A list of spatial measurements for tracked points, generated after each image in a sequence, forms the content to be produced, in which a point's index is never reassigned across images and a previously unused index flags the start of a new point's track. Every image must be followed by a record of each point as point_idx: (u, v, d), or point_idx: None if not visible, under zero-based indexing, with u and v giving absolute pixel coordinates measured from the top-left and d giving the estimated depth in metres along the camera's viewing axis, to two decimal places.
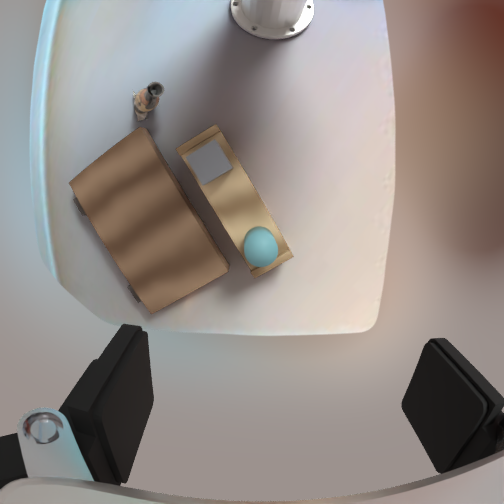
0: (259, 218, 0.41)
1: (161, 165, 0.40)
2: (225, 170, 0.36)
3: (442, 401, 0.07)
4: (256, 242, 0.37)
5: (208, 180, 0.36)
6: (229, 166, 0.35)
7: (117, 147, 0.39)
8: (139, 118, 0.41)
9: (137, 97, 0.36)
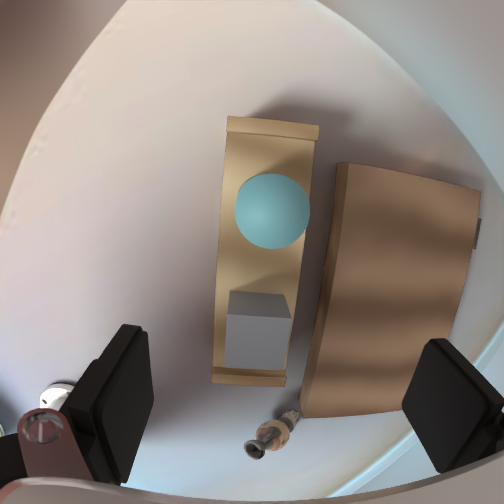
0: None
1: (317, 367, 0.26)
2: (240, 317, 0.19)
3: (442, 401, 0.07)
4: (270, 233, 0.17)
5: (277, 319, 0.19)
6: (229, 318, 0.19)
7: (344, 412, 0.28)
8: (296, 415, 0.31)
9: (280, 448, 0.27)
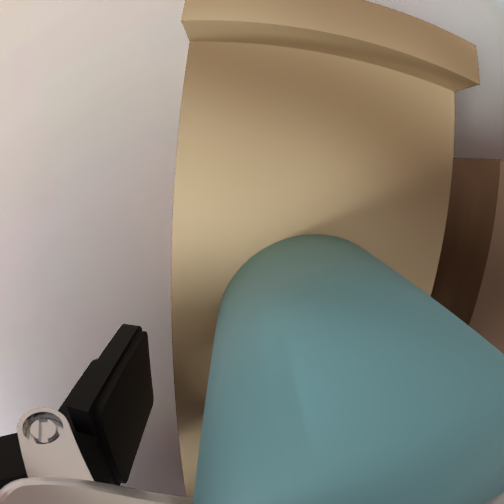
0: None
1: None
2: None
3: None
4: None
5: None
6: None
7: None
8: None
9: None
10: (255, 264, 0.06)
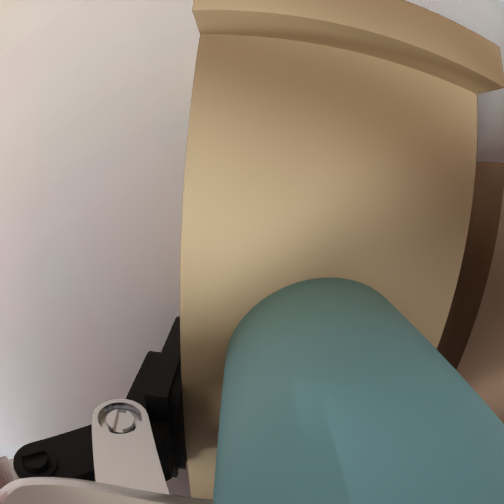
0: None
1: None
2: None
3: None
4: None
5: None
6: None
7: None
8: None
9: None
10: (266, 313, 0.05)
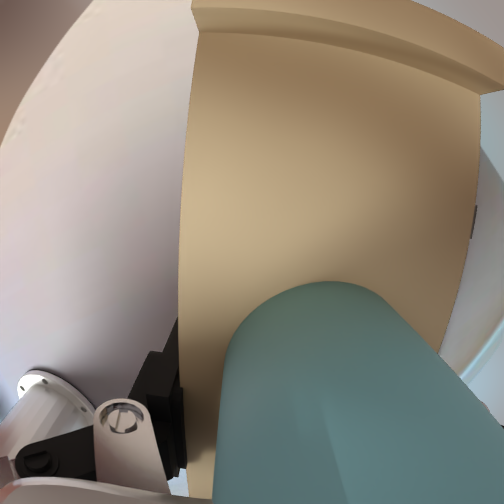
0: None
1: None
2: None
3: None
4: None
5: None
6: None
7: None
8: None
9: None
10: (265, 317, 0.05)
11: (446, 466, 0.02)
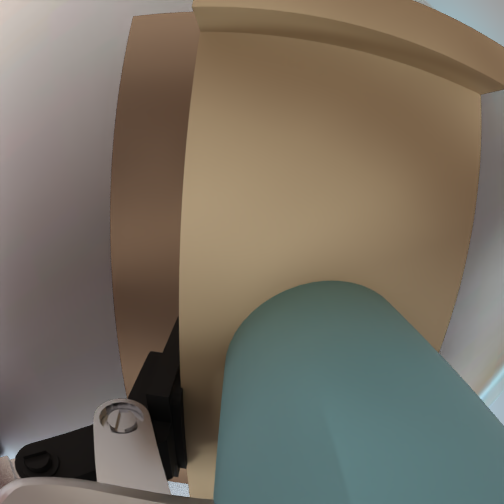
0: None
1: None
2: None
3: None
4: None
5: None
6: None
7: None
8: None
9: None
10: (266, 317, 0.05)
11: (449, 465, 0.02)
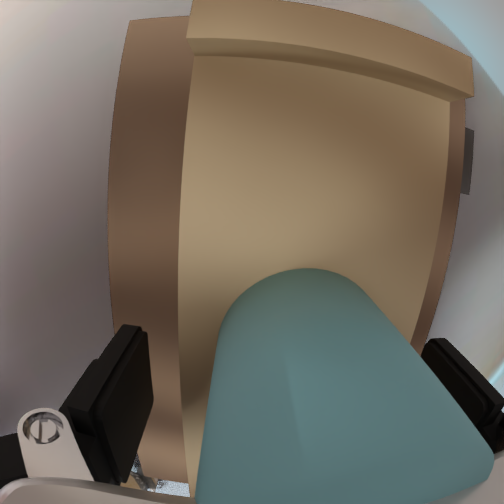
0: None
1: None
2: None
3: None
4: None
5: None
6: None
7: None
8: None
9: None
10: (251, 298, 0.06)
11: (376, 404, 0.03)
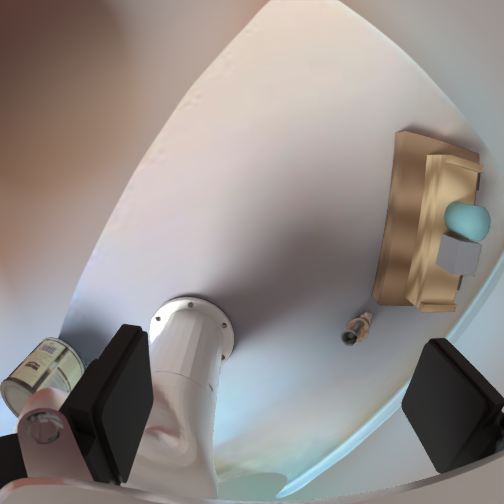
0: None
1: (389, 260, 0.39)
2: (464, 243, 0.30)
3: (442, 401, 0.07)
4: (477, 233, 0.29)
5: (476, 245, 0.30)
6: (460, 244, 0.30)
7: (405, 302, 0.41)
8: (370, 315, 0.44)
9: (364, 337, 0.41)
10: (452, 204, 0.32)
11: None
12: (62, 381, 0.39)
